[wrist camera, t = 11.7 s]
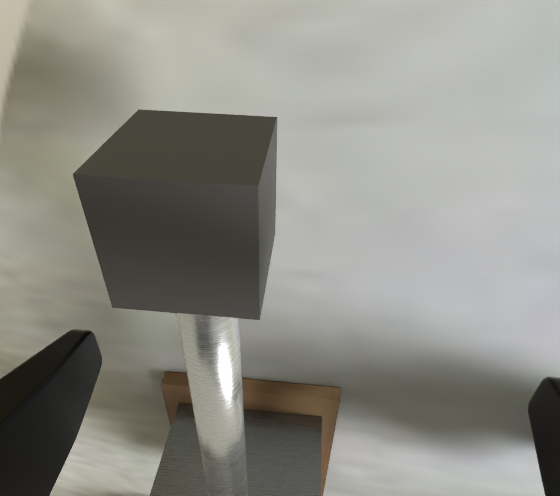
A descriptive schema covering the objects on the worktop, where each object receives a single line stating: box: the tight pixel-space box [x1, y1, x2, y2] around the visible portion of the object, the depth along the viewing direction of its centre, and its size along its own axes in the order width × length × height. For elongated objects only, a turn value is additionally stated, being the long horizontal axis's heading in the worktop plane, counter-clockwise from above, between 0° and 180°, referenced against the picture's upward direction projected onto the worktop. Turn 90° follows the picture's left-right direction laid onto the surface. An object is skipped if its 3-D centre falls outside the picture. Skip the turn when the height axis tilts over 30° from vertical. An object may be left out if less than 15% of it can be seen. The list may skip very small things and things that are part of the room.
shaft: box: [73, 110, 277, 496], centre depth 17 cm, size 4×20×4 cm, turn 179°
